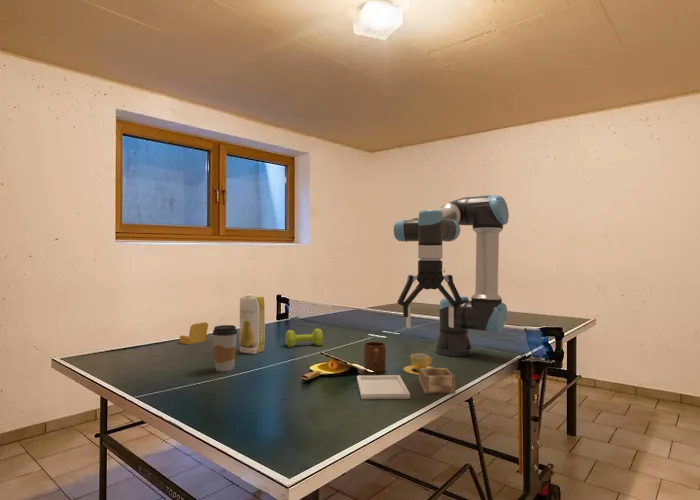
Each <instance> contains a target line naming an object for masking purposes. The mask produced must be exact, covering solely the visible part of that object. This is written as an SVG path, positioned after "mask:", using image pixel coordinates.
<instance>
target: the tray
mask: <svg viewBox="0 0 700 500" xmlns="http://www.w3.org/2000/svg"><path fill="white" fill-rule="evenodd" d="M356 382H357V387H358V390H359V396H360V400H410V399H411V393H410V391H409V390H408V388H407V386H406V384H405V383H404V380H403V379H402V377H401V375H400V374H399V375H398V374H397V375H396V374H395V375H394V374H393V375H392V374H391V375H390V374H388V375H387V374H386V375H378V374H377V375H376V374H375V375H374V374H373V375H357V376H356Z"/></svg>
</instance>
